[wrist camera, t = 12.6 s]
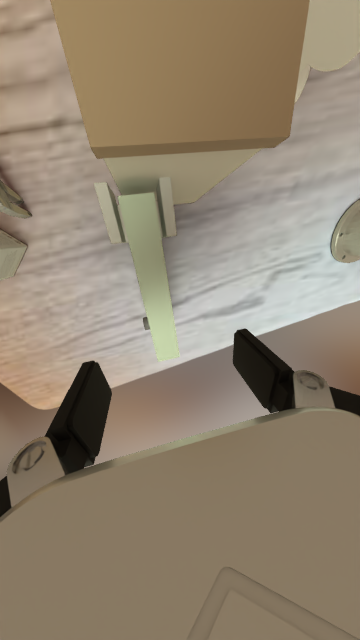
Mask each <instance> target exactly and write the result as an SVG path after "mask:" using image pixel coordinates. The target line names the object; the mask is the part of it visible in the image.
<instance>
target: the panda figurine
mask: <svg viewBox="0 0 360 640" xmlns="http://www.w3.org/2000/svg"><path fill="white" fill-rule="evenodd" d="M359 52H360V0H310V2H309V9H308V16H307V22H306V29H305V36H304V43H303V49H302V56H301V63H300V69H299V76H298V83H297V89H296V96H295V103H296V101H297V100H298V98H299V96H300V95H301V93H302V91H303V89H304V86H305V84H306V81H307V78H308V75H309V72H310V68H311V67H312V68H314V69H316V70H319V71H333V70H337V69H340V68H342V67H343V66H345V65H346V64H347V63H349V62H350V61H351V60H352V59H353V58H354V57H355V56H356V55H357V54H358V53H359ZM295 103H294V104H295Z"/></svg>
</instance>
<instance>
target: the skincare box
mask: <svg viewBox="0 0 360 640" xmlns="http://www.w3.org/2000/svg"><path fill="white" fill-rule="evenodd" d="M26 249H27V245H25V244H23V243H22V242H20V241H19V240H17V239H15V238H14V237H12V236H10V235H9V234H7V233H5V232H4V231H2V230H0V281H1V280H4V279H7V278H10V277H13V276H14V274H15V272H16V270H17V268H18V266H19V264H20V261H21V259H22V257H23V255H24V253H25V251H26Z"/></svg>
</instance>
